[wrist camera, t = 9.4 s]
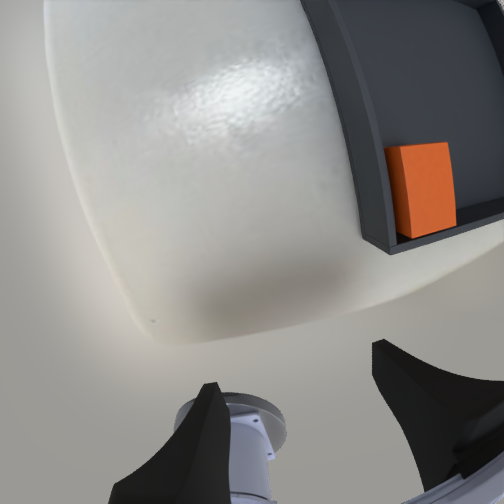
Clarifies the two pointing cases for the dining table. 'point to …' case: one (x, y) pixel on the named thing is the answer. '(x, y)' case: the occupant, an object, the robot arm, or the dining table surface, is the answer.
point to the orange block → (421, 187)
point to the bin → (417, 100)
